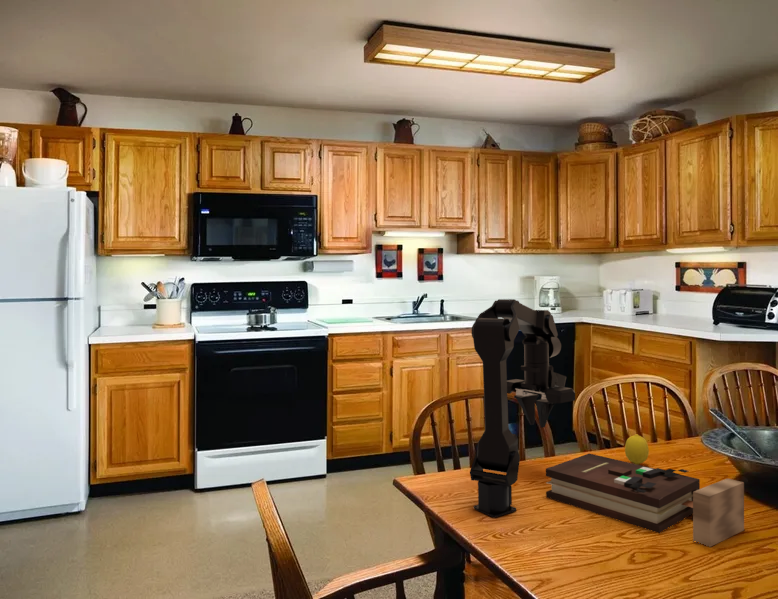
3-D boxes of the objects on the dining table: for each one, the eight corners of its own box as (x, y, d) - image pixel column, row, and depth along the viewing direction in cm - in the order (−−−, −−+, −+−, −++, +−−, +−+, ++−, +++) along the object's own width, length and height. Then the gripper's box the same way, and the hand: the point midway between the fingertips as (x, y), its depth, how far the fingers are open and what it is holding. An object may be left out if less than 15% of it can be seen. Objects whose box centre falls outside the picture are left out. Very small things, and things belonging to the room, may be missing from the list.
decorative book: (583, 446, 145) (714, 476, 122) (583, 478, 145) (714, 513, 122) (533, 463, 133) (668, 500, 110) (533, 497, 133) (668, 541, 110)
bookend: (709, 547, 106) (709, 496, 106) (693, 541, 109) (692, 491, 109) (744, 530, 113) (743, 482, 113) (727, 524, 116) (727, 478, 115)
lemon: (650, 464, 154) (650, 432, 153) (646, 470, 149) (646, 438, 149) (627, 461, 156) (627, 430, 156) (623, 467, 152) (622, 435, 152)
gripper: (590, 362, 143) (590, 428, 143) (530, 355, 158) (531, 414, 159) (558, 367, 137) (559, 435, 137) (499, 359, 152) (500, 420, 153)
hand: (537, 425), depth 147 cm, fingers open, 3 cm apart
